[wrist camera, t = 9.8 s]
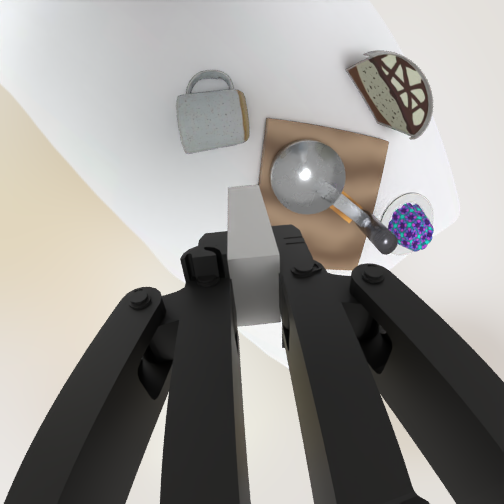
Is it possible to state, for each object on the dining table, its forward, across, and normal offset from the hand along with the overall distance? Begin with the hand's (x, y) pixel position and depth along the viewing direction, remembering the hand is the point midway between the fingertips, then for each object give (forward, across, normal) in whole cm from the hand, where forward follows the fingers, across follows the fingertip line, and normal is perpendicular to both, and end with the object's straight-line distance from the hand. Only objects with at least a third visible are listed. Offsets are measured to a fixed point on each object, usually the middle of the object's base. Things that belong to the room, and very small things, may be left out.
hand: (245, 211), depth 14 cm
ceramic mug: (+27, -3, +4) cm, 27 cm away
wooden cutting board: (+26, +11, -10) cm, 30 cm away
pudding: (+27, +29, -16) cm, 42 cm away
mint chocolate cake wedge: (+27, +21, +7) cm, 35 cm away
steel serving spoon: (+24, +12, -8) cm, 28 cm away
